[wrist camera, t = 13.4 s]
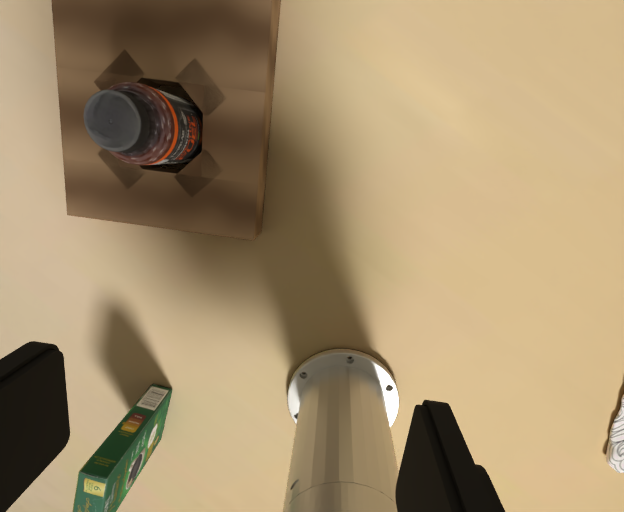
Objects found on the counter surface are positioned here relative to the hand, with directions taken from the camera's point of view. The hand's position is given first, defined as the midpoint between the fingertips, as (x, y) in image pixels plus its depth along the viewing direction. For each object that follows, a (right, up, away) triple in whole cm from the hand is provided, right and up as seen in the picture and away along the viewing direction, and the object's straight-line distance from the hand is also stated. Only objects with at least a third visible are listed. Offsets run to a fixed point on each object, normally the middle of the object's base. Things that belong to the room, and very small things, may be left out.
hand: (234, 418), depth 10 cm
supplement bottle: (-11, +16, +26) cm, 32 cm away
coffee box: (-17, -15, +35) cm, 42 cm away
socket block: (-11, +18, +25) cm, 33 cm away
